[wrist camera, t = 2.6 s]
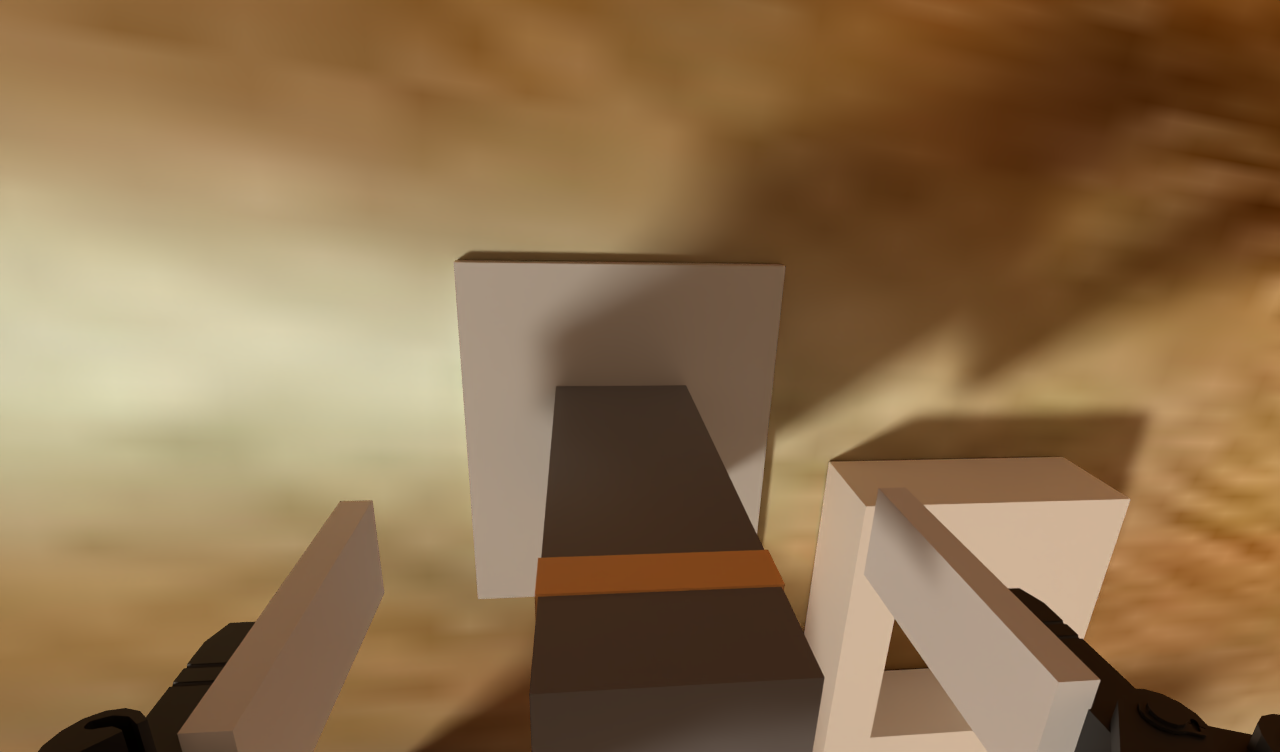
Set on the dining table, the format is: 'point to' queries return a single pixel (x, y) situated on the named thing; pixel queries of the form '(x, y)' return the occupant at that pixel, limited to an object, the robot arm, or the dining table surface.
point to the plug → (658, 592)
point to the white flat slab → (602, 376)
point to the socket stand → (987, 526)
